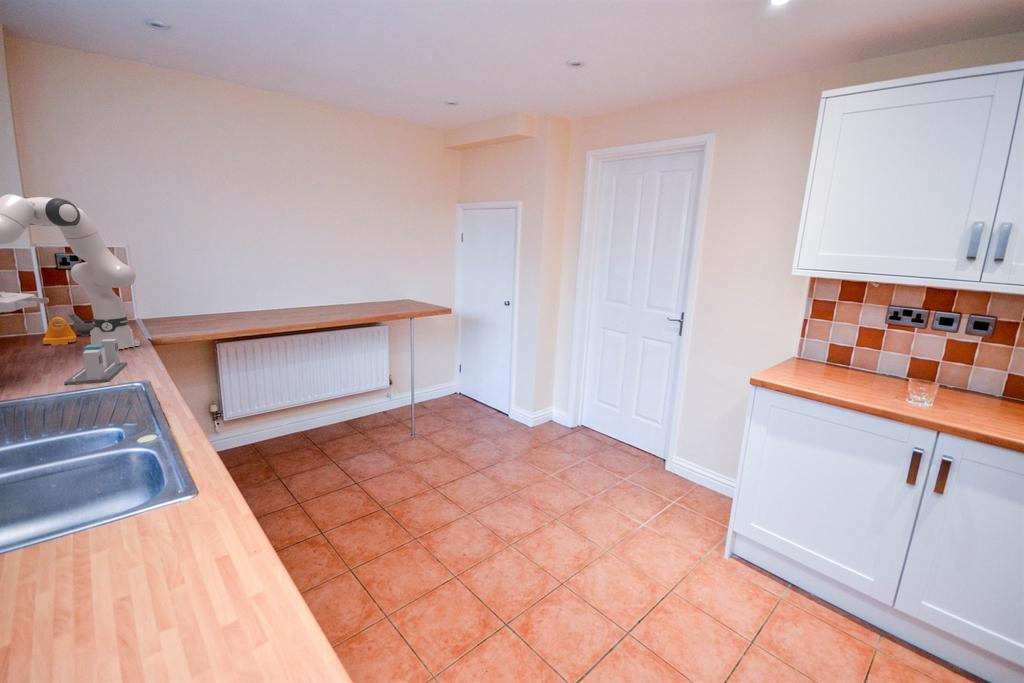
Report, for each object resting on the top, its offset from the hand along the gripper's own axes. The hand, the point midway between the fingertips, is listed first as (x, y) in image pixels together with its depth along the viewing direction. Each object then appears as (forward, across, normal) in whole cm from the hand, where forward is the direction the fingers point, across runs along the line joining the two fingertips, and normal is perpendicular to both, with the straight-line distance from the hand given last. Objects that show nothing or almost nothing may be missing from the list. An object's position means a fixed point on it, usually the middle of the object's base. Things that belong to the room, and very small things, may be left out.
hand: (42, 302), depth 164 cm
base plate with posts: (+12, 0, +28) cm, 30 cm away
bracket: (-18, +65, +28) cm, 73 cm away
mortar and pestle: (-13, +82, +28) cm, 88 cm away
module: (+12, 0, +27) cm, 29 cm away
